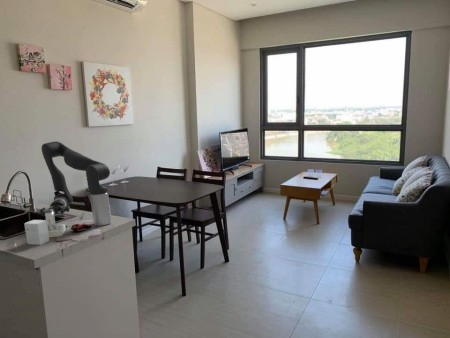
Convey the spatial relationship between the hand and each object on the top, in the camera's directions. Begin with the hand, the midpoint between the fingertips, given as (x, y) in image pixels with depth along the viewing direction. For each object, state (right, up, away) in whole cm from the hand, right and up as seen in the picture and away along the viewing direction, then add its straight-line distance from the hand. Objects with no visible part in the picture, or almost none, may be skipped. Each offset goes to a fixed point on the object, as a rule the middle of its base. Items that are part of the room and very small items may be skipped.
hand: (52, 213), depth 181 cm
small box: (+2, -12, -17) cm, 21 cm away
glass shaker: (+2, -9, -5) cm, 11 cm away
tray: (+2, -10, -5) cm, 11 cm away
